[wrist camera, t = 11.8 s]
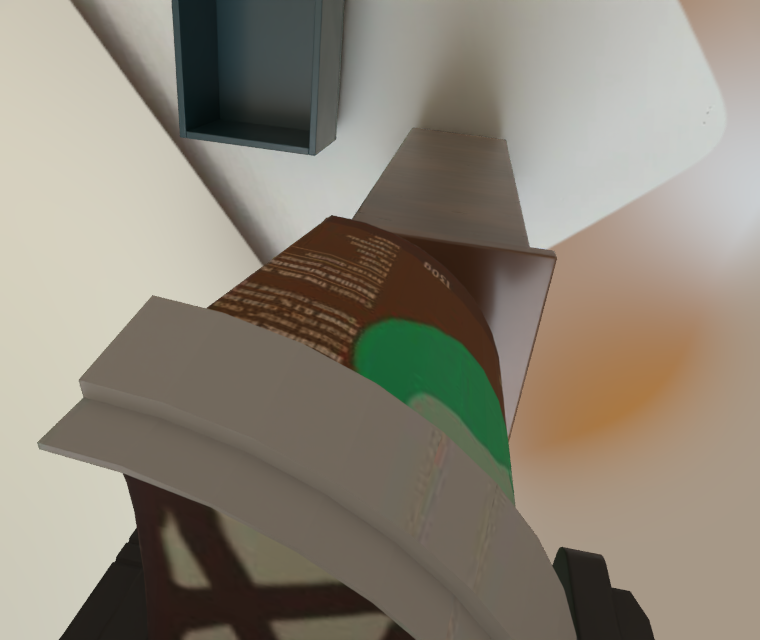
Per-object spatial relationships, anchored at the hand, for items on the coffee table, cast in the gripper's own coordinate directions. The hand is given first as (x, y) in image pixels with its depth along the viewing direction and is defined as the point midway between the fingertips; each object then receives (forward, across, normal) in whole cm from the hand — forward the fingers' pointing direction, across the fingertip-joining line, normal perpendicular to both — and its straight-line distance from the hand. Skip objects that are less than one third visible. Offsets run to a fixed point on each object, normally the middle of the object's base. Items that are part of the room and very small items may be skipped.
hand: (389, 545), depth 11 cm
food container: (+6, 0, 0) cm, 6 cm away
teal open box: (+30, +12, -9) cm, 34 cm away
